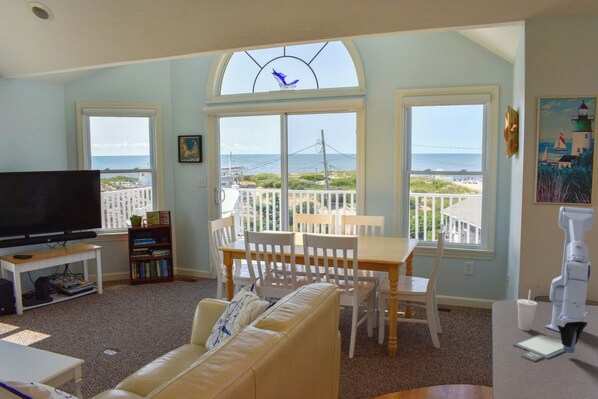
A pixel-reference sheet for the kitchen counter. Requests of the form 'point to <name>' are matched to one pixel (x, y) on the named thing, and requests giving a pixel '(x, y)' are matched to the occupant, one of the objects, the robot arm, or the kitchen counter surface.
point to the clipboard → (542, 345)
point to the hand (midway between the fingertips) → (569, 344)
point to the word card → (532, 356)
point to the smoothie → (526, 312)
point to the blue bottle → (572, 347)
